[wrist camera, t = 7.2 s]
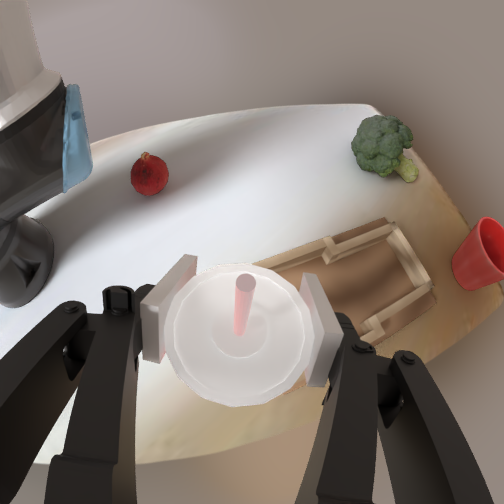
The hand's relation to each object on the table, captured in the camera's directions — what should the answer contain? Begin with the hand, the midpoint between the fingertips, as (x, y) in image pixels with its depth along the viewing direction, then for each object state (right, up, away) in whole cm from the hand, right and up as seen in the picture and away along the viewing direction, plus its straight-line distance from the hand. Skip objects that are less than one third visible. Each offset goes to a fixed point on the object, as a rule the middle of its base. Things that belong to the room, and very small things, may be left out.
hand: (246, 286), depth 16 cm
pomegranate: (-15, +11, +26) cm, 32 cm away
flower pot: (+38, -2, +23) cm, 45 cm away
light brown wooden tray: (+13, -4, +20) cm, 24 cm away
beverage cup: (-1, -6, +3) cm, 6 cm away
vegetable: (+25, +18, +33) cm, 45 cm away
